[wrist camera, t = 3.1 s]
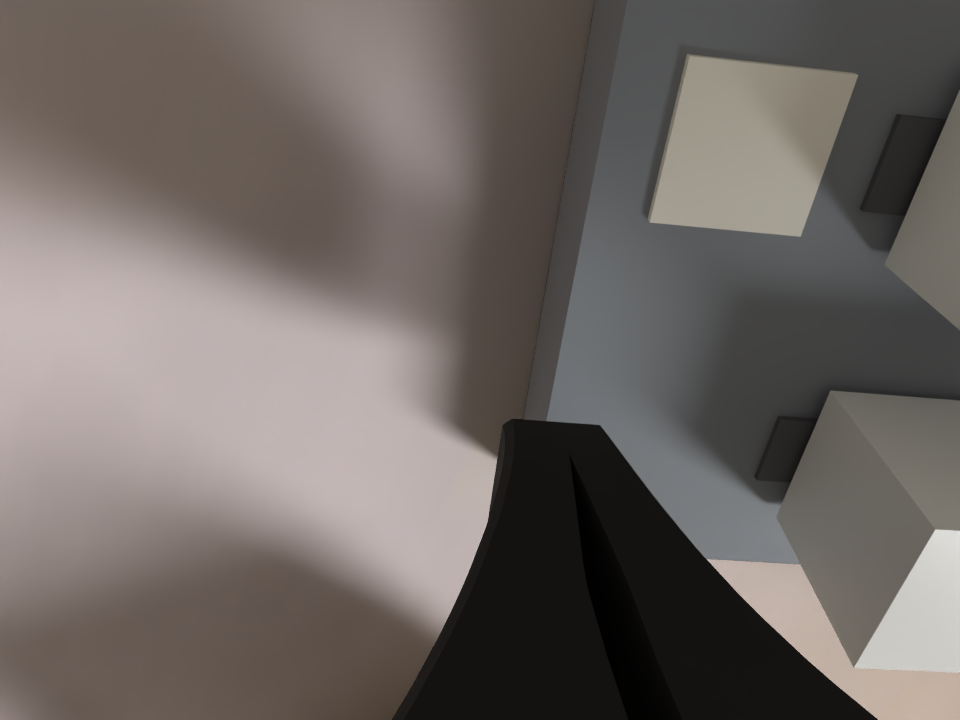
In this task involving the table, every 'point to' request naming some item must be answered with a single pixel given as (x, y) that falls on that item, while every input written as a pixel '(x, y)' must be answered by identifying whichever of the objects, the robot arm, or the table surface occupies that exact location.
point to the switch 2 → (934, 228)
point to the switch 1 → (883, 527)
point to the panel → (742, 242)
